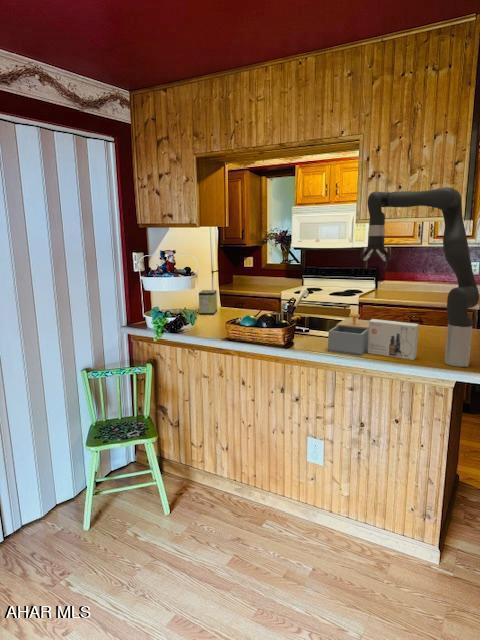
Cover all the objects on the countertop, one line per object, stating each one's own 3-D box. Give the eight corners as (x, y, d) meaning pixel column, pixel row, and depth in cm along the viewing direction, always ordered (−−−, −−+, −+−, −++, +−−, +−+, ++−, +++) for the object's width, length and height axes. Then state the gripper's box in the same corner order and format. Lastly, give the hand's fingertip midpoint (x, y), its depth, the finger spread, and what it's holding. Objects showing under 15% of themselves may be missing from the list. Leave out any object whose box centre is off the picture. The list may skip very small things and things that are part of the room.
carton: (370, 347, 211) (371, 327, 209) (361, 355, 198) (362, 334, 196) (338, 343, 219) (339, 324, 217) (327, 351, 206) (328, 331, 204)
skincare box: (366, 353, 201) (368, 320, 198) (370, 350, 205) (372, 318, 202) (414, 360, 189) (416, 325, 186) (416, 357, 194) (419, 323, 190)
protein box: (217, 310, 311) (216, 289, 308) (213, 315, 296) (213, 292, 293) (203, 310, 312) (202, 289, 309) (199, 315, 297) (198, 293, 294)
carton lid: (376, 322, 219) (377, 310, 218) (368, 329, 205) (369, 316, 204) (346, 319, 227) (346, 308, 226) (336, 325, 213) (336, 313, 212)
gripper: (393, 234, 205) (391, 268, 208) (363, 234, 212) (362, 267, 215) (390, 235, 198) (388, 270, 202) (359, 235, 206) (358, 269, 209)
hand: (374, 268), depth 209 cm, fingers open, 8 cm apart
